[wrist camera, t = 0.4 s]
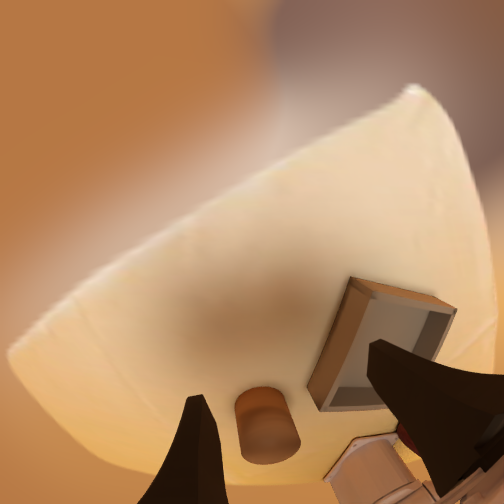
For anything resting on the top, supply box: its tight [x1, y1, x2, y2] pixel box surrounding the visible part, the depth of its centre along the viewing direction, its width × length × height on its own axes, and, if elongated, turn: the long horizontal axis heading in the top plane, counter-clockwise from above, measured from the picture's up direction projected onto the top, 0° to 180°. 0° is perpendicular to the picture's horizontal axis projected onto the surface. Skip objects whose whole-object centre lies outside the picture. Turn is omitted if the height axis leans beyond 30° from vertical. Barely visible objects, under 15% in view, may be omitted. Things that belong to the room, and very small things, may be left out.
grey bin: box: [307, 277, 457, 412], centre depth 21 cm, size 11×11×4 cm
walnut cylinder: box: [235, 387, 301, 465], centre depth 20 cm, size 5×5×6 cm
